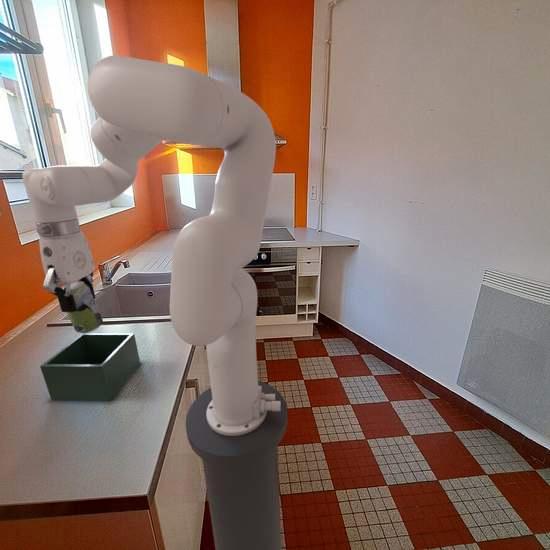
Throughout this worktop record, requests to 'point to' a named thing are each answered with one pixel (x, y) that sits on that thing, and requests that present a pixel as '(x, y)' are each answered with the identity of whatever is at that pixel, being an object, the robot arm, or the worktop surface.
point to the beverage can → (84, 309)
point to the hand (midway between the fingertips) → (79, 304)
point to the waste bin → (91, 367)
